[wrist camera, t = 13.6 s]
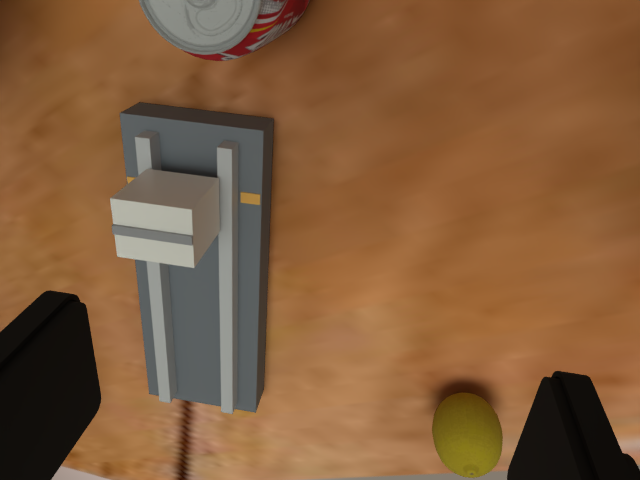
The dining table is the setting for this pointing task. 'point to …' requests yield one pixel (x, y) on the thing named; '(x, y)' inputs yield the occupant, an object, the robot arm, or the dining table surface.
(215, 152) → the slider panel
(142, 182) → the fader cap
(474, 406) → the lemon
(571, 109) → the dining table surface
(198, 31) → the soda can
